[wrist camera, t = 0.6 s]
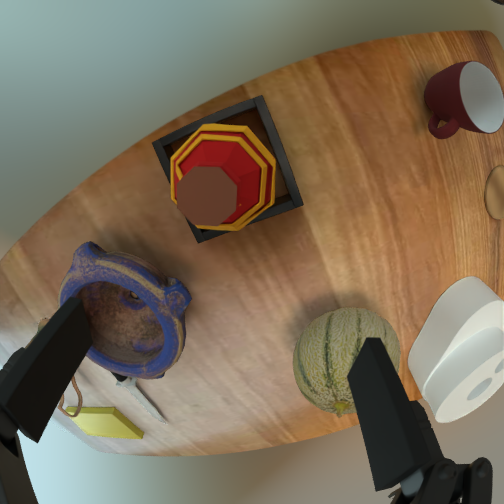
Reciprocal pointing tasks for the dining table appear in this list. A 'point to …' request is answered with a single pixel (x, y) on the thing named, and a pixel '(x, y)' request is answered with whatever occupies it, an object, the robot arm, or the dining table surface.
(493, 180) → the coaster
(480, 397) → the white stepped block
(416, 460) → the robot arm
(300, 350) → the cantaloupe
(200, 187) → the potion bottle
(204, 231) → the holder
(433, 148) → the dining table surface
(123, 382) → the knife
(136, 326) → the bowl
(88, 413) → the yellow flat block
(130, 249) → the dining table surface
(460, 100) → the mug
